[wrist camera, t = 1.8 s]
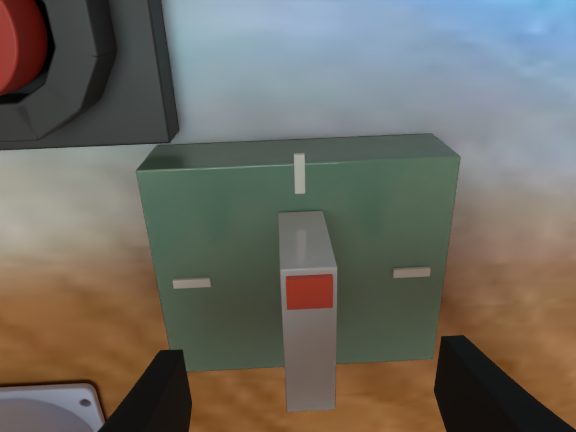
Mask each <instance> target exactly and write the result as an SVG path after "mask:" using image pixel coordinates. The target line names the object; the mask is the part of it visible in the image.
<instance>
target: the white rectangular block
mask: <svg viewBox="0 0 576 432" xmlns="http://www.w3.org/2000/svg"><path fill="white" fill-rule="evenodd" d="M278 234H279V264H280V286H281V306H282V326H283V346H284V366H285V386H286V407H287V412H305V411H323V410H335V400H336V334H337V264H336V260H335V256H334V252H333V248H332V244H331V240H330V236H329V232H328V228H327V225H326V221H325V217H324V213H323V211H304V212H282V213H278Z"/></svg>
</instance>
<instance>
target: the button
mask: <svg viewBox="0 0 576 432" xmlns="http://www.w3.org/2000/svg"><path fill="white" fill-rule="evenodd" d="M47 47H48V39H47V31H46V26H45V23H44V19H43V17H42V14H41V12H40V10H39V8H38V6H37V4H36V2H35V1H34V0H0V96H1V95H4V94H7V93H10V92H13V91H16V90H19V89H21V88H23V87H25V86H26V85H28V84H30V83H31V82H32V81H33V80H34V79H35V78H36V77H37V75H38V74H39V73H40V71H41V69H42V67H43V65H44V62H45V60H46V55H47Z"/></svg>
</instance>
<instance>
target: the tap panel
mask: <svg viewBox="0 0 576 432" xmlns="http://www.w3.org/2000/svg"><path fill="white" fill-rule="evenodd" d="M459 165H460V156H459V155H458V154H457V153H456V152H454V151H453V150H452V149H451V148H449V147H448V146H447V145H446V144H444V143H443V142H442V141H440V140H439V139H438V138H437V137H435V136H434V135H433V134H414V135H391V136H368V137H345V138H321V139H298V140H275V141H252V142H229V143H205V144H182V145H159V146H156V147H155V148H154V149H153V150H152V152H151V153H150V154H149V155H148V157H147V158H146V159H145V160H144V161H143V163H142V164H141V165H140V166H139V167H138V169H137V170H136V175H137V180H138V186H139V191H140V196H141V201H142V207H143V212H144V217H145V222H146V228H147V233H148V238H149V243H150V249H151V254H152V259H153V264H154V270H155V275H156V280H157V285H158V291H159V296H160V301H161V306H162V312H163V317H164V322H165V327H166V333H167V338H168V343H169V348H170V350H179V349H183V354H184V360H185V366H186V371H187V372H194V371H214V370H233V369H252V368H272V367H285V366H284V346H283V326H282V306H281V286H280V264H279V234H278V213H282V212H304V211H323V213H324V217H325V221H326V225H327V228H328V232H329V236H330V240H331V244H332V248H333V252H334V256H335V260H336V264H337V334H336V364H349V363H369V362H388V361H407V360H427V359H433V356H434V348H435V341H436V334H437V326H438V319H439V312H440V304H441V297H442V290H443V282H444V275H445V268H446V260H447V253H448V246H449V238H450V231H451V224H452V216H453V209H454V202H455V194H456V187H457V180H458V172H459Z"/></svg>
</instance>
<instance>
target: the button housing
mask: <svg viewBox="0 0 576 432" xmlns="http://www.w3.org/2000/svg"><path fill="white" fill-rule="evenodd" d="M34 1H35V2H36V4H37V6H38V8H39V10H40V12H41V14H42V17H43V19H44V23H45V26H46V31H47V39H48V47H47V55H46V60H45V62H44V65H43V67H42V69H41V71H40V73H39V74H38V75H37V77H36V78H35V79H34V80H33V81H32V82H31V83H30V84H28V85H26V86H25V87H23V88H21V89H19V90H16V91H13V92H10V93H7V94H4V95H1V96H0V150H20V149H43V148H66V147H90V146H113V145H136V144H159V143H170V142H171V141H172V139H173V138H174V137H175V135H176V134H177V133H178V131H179V128H178V121H177V114H176V107H175V100H174V93H173V86H172V79H171V72H170V64H169V57H168V50H167V43H166V36H165V29H164V22H163V15H162V8H161V1H160V0H34Z"/></svg>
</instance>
